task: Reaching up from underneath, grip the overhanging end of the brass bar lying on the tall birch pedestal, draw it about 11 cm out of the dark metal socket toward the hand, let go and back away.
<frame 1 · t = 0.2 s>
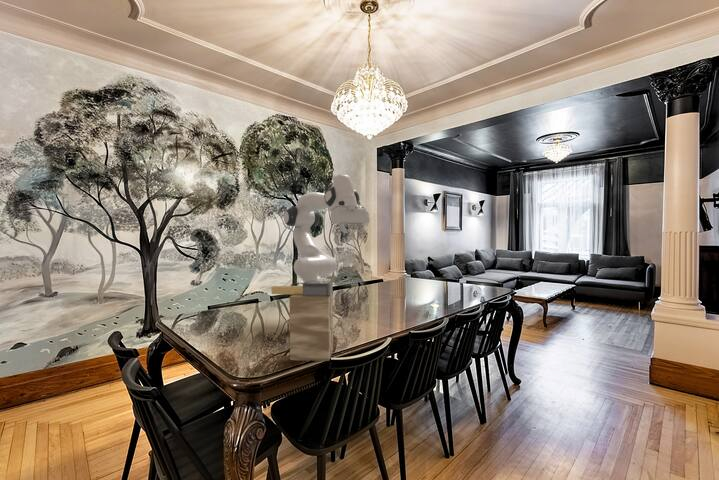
hand: (353, 232, 150), 52 cm above the table, tool tilted 20°, fingers open, 8 cm apart
bar: (300, 290, 136), point 28 cm above the table, slide at 0.0 cm
socket: (317, 354, 137), resting on pedestal
pedestal: (312, 354, 137), on the table
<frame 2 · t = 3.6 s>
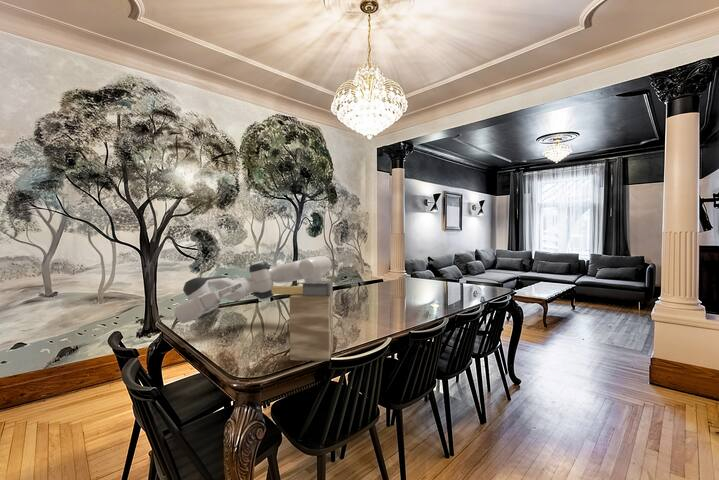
hand: (236, 286, 138), 29 cm above the table, tool pointing upward, fingers open, 8 cm apart
nothing on the table moved.
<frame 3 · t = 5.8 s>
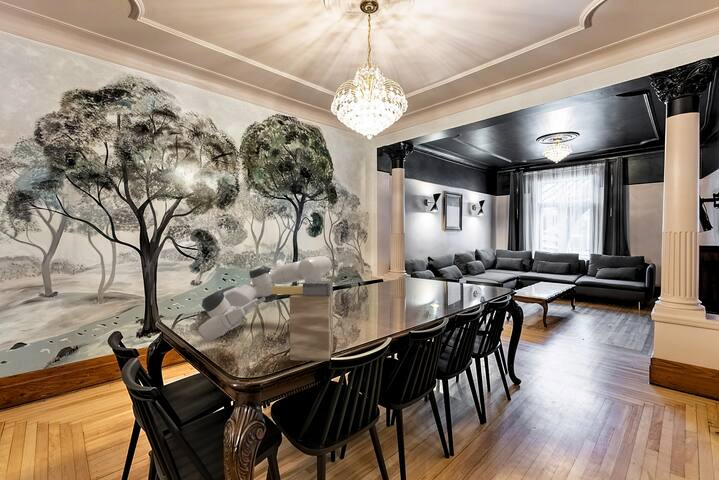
hand: (260, 300, 137), 23 cm above the table, tool pointing upward, fingers open, 8 cm apart
nothing on the table moved.
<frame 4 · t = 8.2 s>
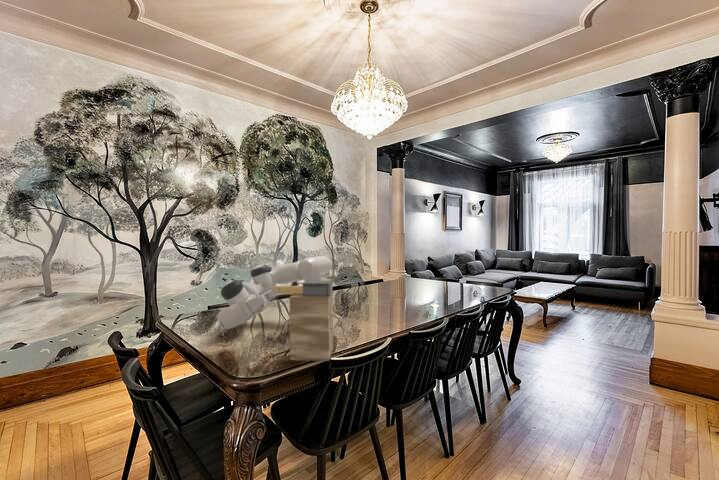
hand: (280, 288, 137), 28 cm above the table, tool pointing upward, fingers closed on bar, 3 cm apart
bar: (300, 290, 136), point 28 cm above the table, slide at 0.0 cm, touching gripper
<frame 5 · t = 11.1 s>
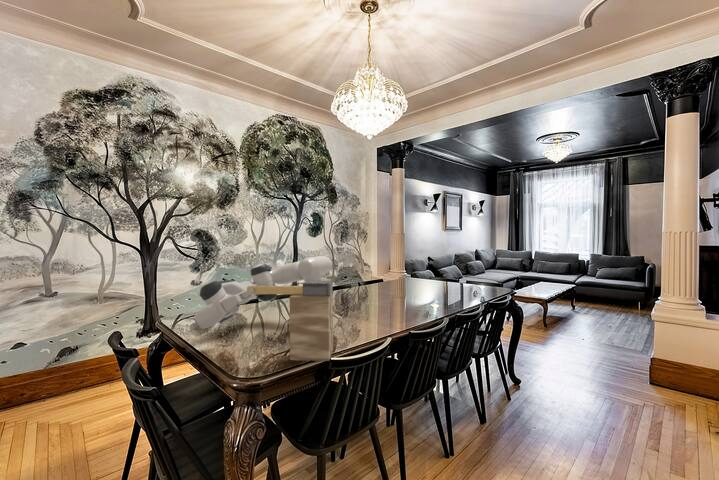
hand: (255, 288, 138), 28 cm above the table, tool pointing upward, fingers closed on bar, 3 cm apart
bar: (275, 289, 137), point 28 cm above the table, slide at 10.7 cm, touching gripper
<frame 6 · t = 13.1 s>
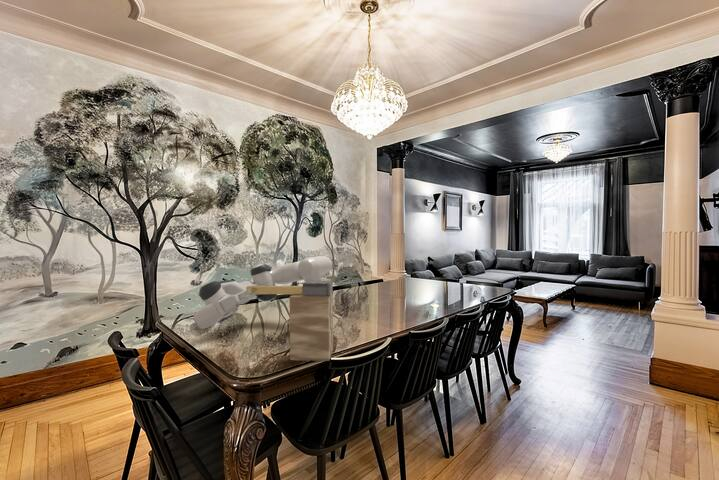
hand: (255, 288, 138), 28 cm above the table, tool pointing upward, fingers open, 8 cm apart
bar: (275, 289, 137), point 28 cm above the table, slide at 11.0 cm
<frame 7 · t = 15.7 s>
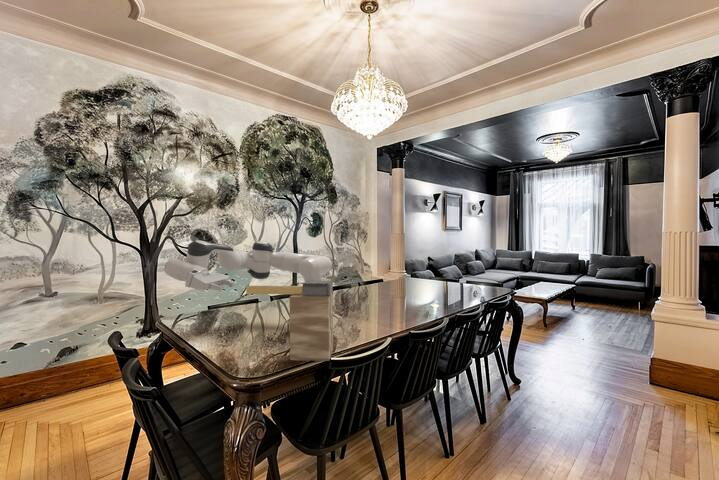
hand: (227, 287, 141), 29 cm above the table, tool tilted 70°, fingers open, 8 cm apart
nothing on the table moved.
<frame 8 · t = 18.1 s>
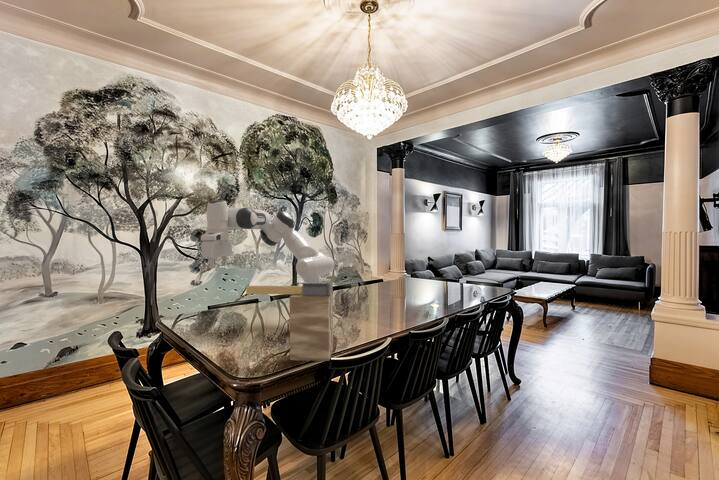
hand: (218, 267, 143), 37 cm above the table, tool pointing down, fingers open, 8 cm apart
nothing on the table moved.
at the end: bar slide at 11.0 cm; the gripper is holding nothing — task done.
